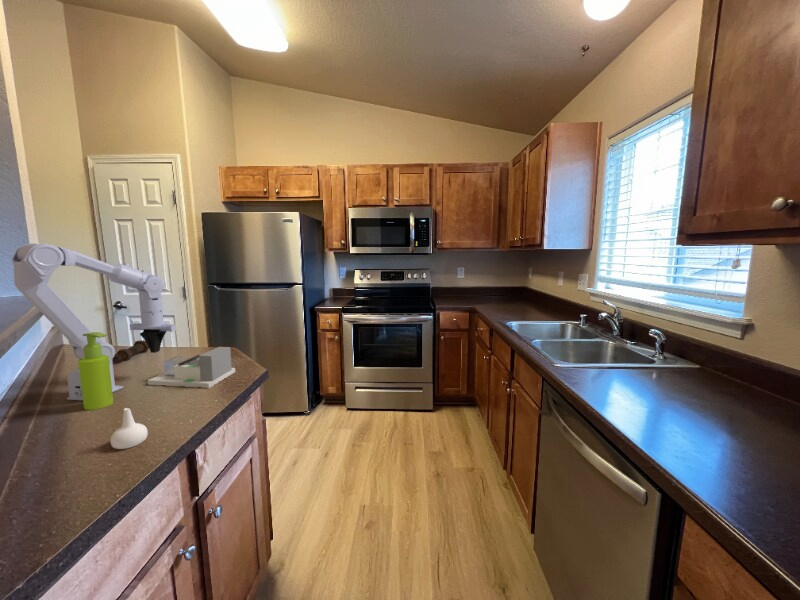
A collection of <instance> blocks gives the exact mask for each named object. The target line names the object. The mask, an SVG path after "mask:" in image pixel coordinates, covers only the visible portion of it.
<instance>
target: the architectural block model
mask: <svg viewBox="0 0 800 600" xmlns="http://www.w3.org/2000/svg"><path fill="white" fill-rule="evenodd" d="M231 350H232V349H231V347H229V346H218V347H215V348H213V349H211V350H208V351H206V352H204V353H201V354H199V355H200V356H199V358H198V360H199V366H198V365H176V366H174V375H165V372H162V373H160V374H159V375H156V376H155V377H152V378H150V379H147V385H149V386H161V385H166V386H167V387H179V386H185V387H184V388H186V387H187V388H198V387H201V388H200V389H202V388H203V389H210V388H212V387H213V386H215V385H216V384H218V383H220V382H221V381H223V380H224V378H225V379H226V378H228V377H230V376H232V375H233V374H234V373H236V367H232V352H231ZM219 381H220V382H219ZM214 384H215V385H214ZM166 386H165V387H166Z"/></svg>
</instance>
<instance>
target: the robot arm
mask: <svg viewBox="0 0 800 600" xmlns="http://www.w3.org/2000/svg"><path fill="white" fill-rule="evenodd" d="M11 262H12V265H13V279H14V280H13V281H14V286H15V287H16V289H17V290H18V291H19V292H20V293H21V294H22V295H24V297H25V298H26V299H27V300H29V302H30V303H31V304H32V305H33V306H34V307H35V308H36V309H37V310H38V311H39V312H40V313H41V314H42V315H43V316H44V317H45V318H46V320H48V321H49V322H50V323H51V324H52V325H53V326H54V328H56V329H57V331H59V332H60V333H61V334H62V335H63V336H64V337H65V338H66V339H67V341H68V344H69V345H70V346H71V347H72V350H73V355H74V356H75V357H76V358H77V359H78V360H80V359H82V358H85V356H84V348H83V347H84V346H86V345H87V344H88V343H87V336H83V334H86V333H90V332H92V331H91V330H90V329H89V328H88V327H87V325H85V323H84V322H83V321H82V320H81V319H80V318H79V317H78V315H77V314H76V313H74V311H72V309H71V308H70V307H69V306H68V305H67V304H66V303H65V302H64V300H63V299H62V298H61V297H60V296H59V295H58V294H57V293H56V292H55V290H54V289H53V288H52V287H51V286H49V284H48V283H49V280H50V278H51V275H52V274H53V272H55V271H56V270H57V269H58V268H59V267H60V266H63V267H64V266H65V267H69V266H73V267H79V268H82V269H85V270H88V271H92V272H94V273H98V274H102V275H105V276H107V278H108V280H109V281H110V282H113V283H116V284H119V285H122V286H125V287H129V288H132V289H135V290H137V291H138V299H139V308H140V309H139V311H140V320H141V321H140V322H141V323H137V322H135V323H130V324H129V330H130V331H142V332H140V333H139V335H140V337H142V338H143V341H146V343H147V345H148V347H149V349H148V350H149V351H150V353H152V354H155V353H158V352H160V351H161V346H162V342H163V339H164V337H165V335H166V333H167V332H170V333H173V332H175V331H177V325H176V324H172V323H167V322H165V321H164V312H163V301H162V291H163V290H164V288H165V283H164V282H163V280H162V278H161V277H159V276H158V275H157V274H156V275H155V274H148V272H147V270H140V269H136V268H133V267H131V264H129V263H116V264H113V265H112V264H109V263H107V262H105V261H102V260H99V259H97V258H94V257H92V256H88V255H86V254H83V253H80V252H78V251H75V250H73V249H69V248H65V247H61V246H56V245H54V244H50V243H38V244H37V243H25V244H23V245H20V246H19V247H18V248H17V249H16V251H15V252H14V254H13V256H12V257H11ZM96 343H98V344H101V350H102V355H107V356H109V365H110V374H111V383H112V392H113V393H114V392H117V391H119V390H121V389H123V388H124V386H123V385H116V383H115V374H114V372H115V371H114V364H113V363H114V362H113V361H112V359H113V357H114V355H115V354H116V349H115V347H114V346H113V345H112V344H110V343H108V342H106V341H104V340H102V339H101V337H100V338H97V337H96ZM77 365H78V366H77V368H75V369H74V370H72V371H71V372H69V373H68V375H67V378H66V379H67V389H68V396H69V397H66V399H67V400H69V401H83V396H82V388H81V380H80V371H79V363H78V364H77Z"/></svg>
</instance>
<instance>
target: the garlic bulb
mask: <svg viewBox="0 0 800 600" xmlns="http://www.w3.org/2000/svg"><path fill="white" fill-rule="evenodd" d="M122 417H123V418H122V425H121V426H119V428H117V429H116V430H115V431H114V432H113V433H112V434H111V437H110V442H109V443H110V445H111V447H112V448H113V449H116V450H124V449H126V450H127V449H130V448H132V447H133V448H134V447H136V446H138V445H140V444H142V443H143V442H144V441H145V440H146V439H147V438H148V434H149V433H148V431H149V430H148V428H147V427H146V426H145V425H144V424H143V423H138V422H135V419H134V417H133V413H132V411H131V408H128V407H125V408H123V415H122Z"/></svg>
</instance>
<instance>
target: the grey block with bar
mask: <svg viewBox="0 0 800 600" xmlns="http://www.w3.org/2000/svg"><path fill="white" fill-rule="evenodd" d="M200 355H201V354H197V355H195V356H193V357H182V356H180V355H177V356H173V357H171V358H168V359H166V360H163V369H164V373H165V375H174V366H176V365H198V366H199V360H198V358H199V356H200Z"/></svg>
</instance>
